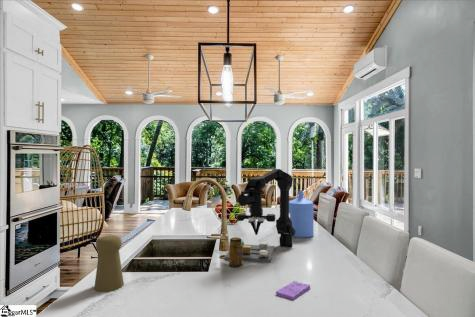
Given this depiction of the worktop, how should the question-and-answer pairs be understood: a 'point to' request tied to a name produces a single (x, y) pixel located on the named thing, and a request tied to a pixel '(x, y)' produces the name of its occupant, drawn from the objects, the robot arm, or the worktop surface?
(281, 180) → the robot arm
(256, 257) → the panel
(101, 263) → the cork
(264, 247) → the slider
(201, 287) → the worktop surface
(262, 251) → the button
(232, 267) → the condiment
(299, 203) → the water jug
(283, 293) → the sponges
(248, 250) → the slider
